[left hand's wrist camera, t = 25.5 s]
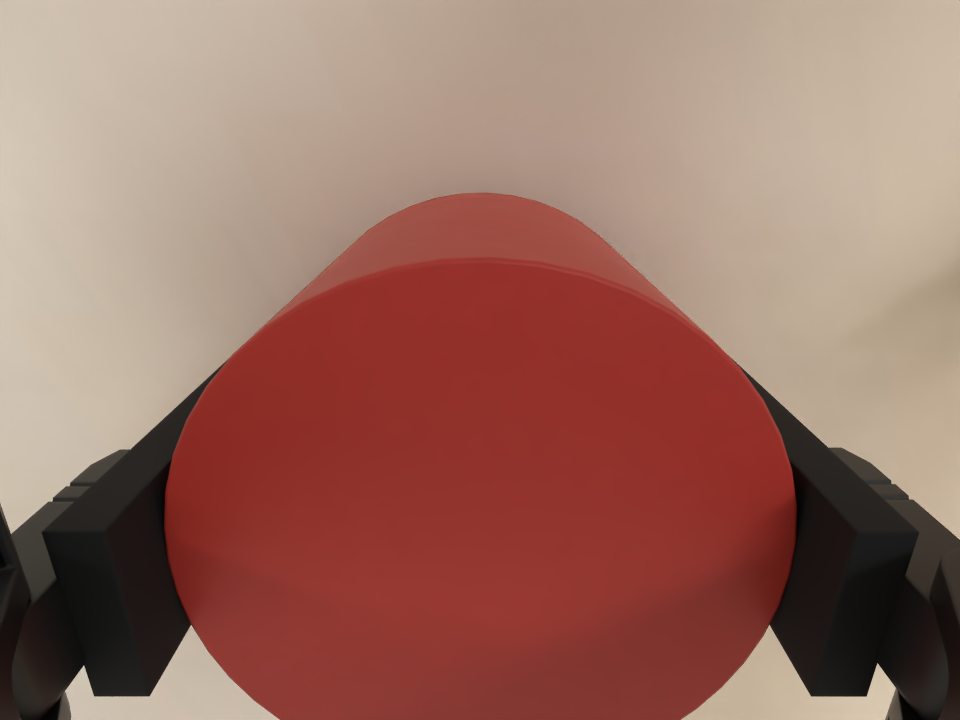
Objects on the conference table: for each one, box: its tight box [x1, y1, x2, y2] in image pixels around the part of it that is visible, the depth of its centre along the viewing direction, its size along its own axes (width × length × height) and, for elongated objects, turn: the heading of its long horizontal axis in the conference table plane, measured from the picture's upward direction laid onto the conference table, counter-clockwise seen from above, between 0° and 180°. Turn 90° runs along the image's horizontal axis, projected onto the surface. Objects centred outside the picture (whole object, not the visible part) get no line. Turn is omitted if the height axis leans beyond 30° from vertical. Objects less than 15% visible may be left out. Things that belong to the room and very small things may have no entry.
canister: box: [164, 193, 797, 720], centre depth 12 cm, size 9×9×7 cm
